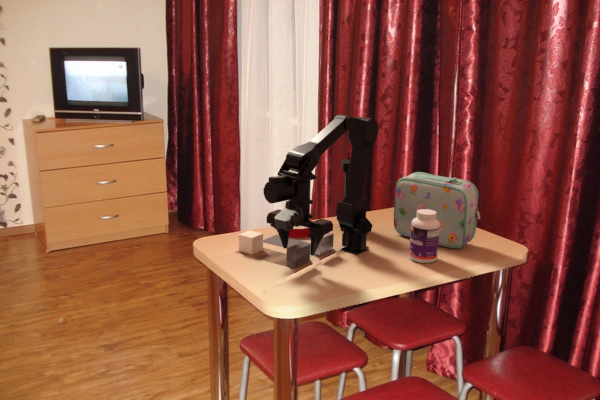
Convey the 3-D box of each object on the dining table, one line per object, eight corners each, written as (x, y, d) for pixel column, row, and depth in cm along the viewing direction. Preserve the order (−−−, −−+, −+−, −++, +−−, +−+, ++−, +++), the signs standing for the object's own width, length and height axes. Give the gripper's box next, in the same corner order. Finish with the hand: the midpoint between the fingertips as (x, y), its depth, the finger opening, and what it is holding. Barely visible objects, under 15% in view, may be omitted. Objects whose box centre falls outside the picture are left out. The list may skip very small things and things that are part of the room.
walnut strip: (312, 264, 178) (312, 243, 176) (295, 272, 171) (295, 251, 170) (251, 247, 190) (251, 228, 188) (234, 255, 184) (233, 235, 182)
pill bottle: (403, 256, 185) (406, 209, 181) (426, 253, 188) (430, 206, 184) (419, 266, 178) (422, 216, 174) (442, 262, 181) (446, 214, 177)
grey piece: (335, 252, 187) (335, 233, 185) (320, 260, 181) (320, 240, 179) (276, 237, 199) (276, 219, 198) (260, 244, 193) (260, 225, 191)
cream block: (263, 249, 185) (263, 233, 184) (252, 254, 181) (252, 237, 180) (249, 246, 188) (249, 230, 187) (238, 250, 184) (238, 234, 183)
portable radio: (359, 232, 206) (362, 156, 200) (341, 231, 206) (343, 156, 200) (357, 224, 214) (360, 152, 207) (340, 224, 214) (342, 151, 207)
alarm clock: (273, 223, 203) (315, 209, 207) (277, 240, 205) (318, 226, 209) (284, 232, 193) (328, 217, 198) (288, 251, 196) (331, 235, 200)
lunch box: (481, 246, 195) (487, 178, 190) (466, 254, 188) (472, 184, 182) (406, 227, 212) (410, 165, 206) (389, 235, 204) (393, 170, 198)
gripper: (253, 197, 169) (253, 252, 173) (311, 209, 159) (309, 267, 163) (279, 189, 178) (278, 241, 182) (335, 200, 168) (333, 255, 172)
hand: (298, 251), depth 174 cm, fingers open, 9 cm apart
